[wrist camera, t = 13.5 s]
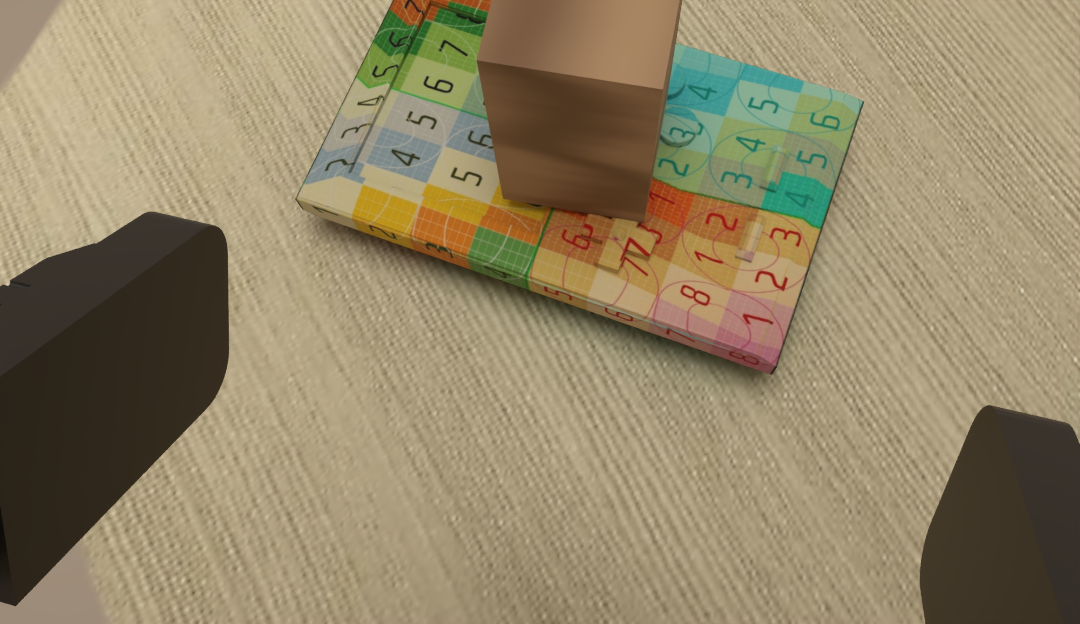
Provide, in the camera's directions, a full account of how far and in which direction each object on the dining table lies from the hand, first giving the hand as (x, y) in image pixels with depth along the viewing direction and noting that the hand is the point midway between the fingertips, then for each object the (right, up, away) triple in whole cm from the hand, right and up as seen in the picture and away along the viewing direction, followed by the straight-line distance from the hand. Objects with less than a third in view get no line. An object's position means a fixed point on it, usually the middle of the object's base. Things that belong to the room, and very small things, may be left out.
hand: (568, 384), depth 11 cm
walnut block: (+1, +7, +29) cm, 30 cm away
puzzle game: (+1, +6, +34) cm, 34 cm away
